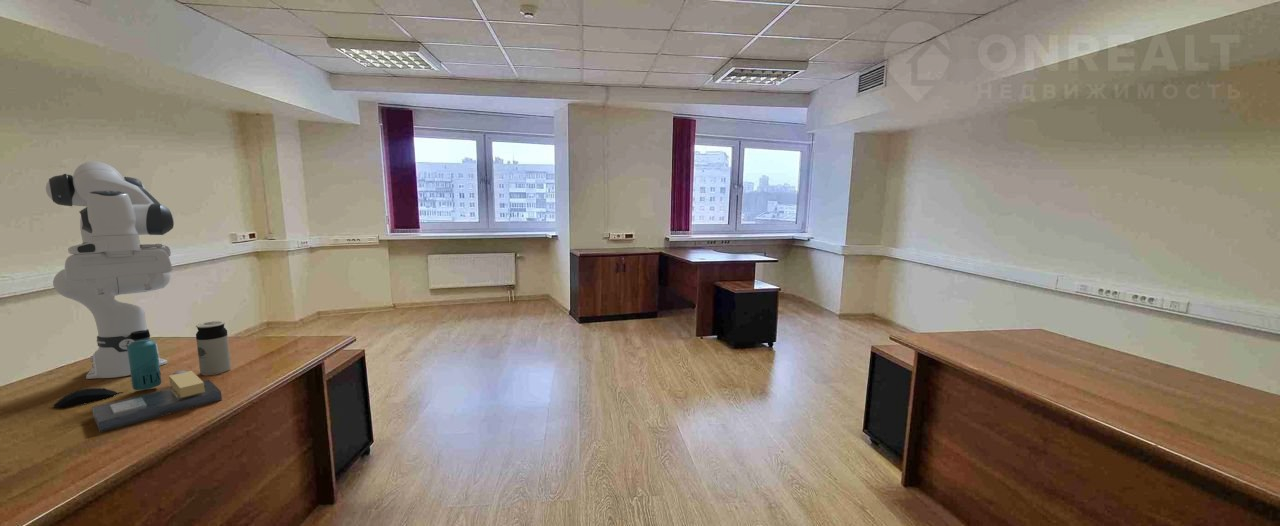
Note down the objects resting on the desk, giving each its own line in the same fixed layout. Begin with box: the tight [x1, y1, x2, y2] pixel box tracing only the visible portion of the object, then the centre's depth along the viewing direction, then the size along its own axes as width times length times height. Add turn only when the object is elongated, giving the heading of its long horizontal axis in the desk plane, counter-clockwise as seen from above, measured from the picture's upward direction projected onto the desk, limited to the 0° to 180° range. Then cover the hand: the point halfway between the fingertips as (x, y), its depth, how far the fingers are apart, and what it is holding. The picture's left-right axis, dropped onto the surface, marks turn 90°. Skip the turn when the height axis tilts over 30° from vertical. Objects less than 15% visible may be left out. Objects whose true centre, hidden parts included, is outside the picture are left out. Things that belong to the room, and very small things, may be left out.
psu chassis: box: [91, 379, 223, 433], centre depth 129 cm, size 17×24×4 cm
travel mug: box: [195, 320, 232, 376], centre depth 154 cm, size 8×8×18 cm
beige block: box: [168, 370, 205, 398], centre depth 133 cm, size 18×5×3 cm, turn 56°
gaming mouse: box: [53, 387, 124, 409], centre depth 132 cm, size 6×15×4 cm, turn 142°
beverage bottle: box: [127, 329, 162, 391], centre depth 138 cm, size 6×7×20 cm
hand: (125, 291), depth 127 cm, fingers open, 8 cm apart
